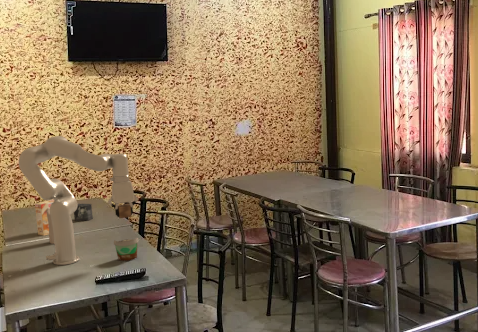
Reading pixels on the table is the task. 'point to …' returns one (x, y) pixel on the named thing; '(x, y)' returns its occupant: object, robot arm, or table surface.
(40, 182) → the robot arm
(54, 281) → the table surface
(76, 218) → the box
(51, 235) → the candle
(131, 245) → the food container
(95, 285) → the table surface
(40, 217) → the coffeecake box
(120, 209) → the walnut block
